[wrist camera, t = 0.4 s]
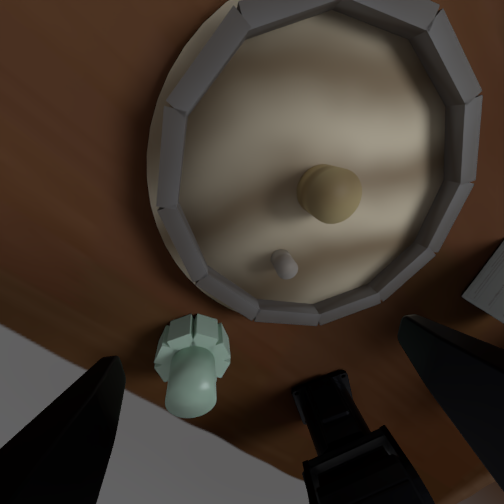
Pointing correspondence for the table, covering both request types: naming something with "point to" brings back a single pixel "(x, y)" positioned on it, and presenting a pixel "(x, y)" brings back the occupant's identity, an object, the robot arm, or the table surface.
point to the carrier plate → (313, 153)
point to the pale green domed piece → (192, 363)
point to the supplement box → (489, 286)
